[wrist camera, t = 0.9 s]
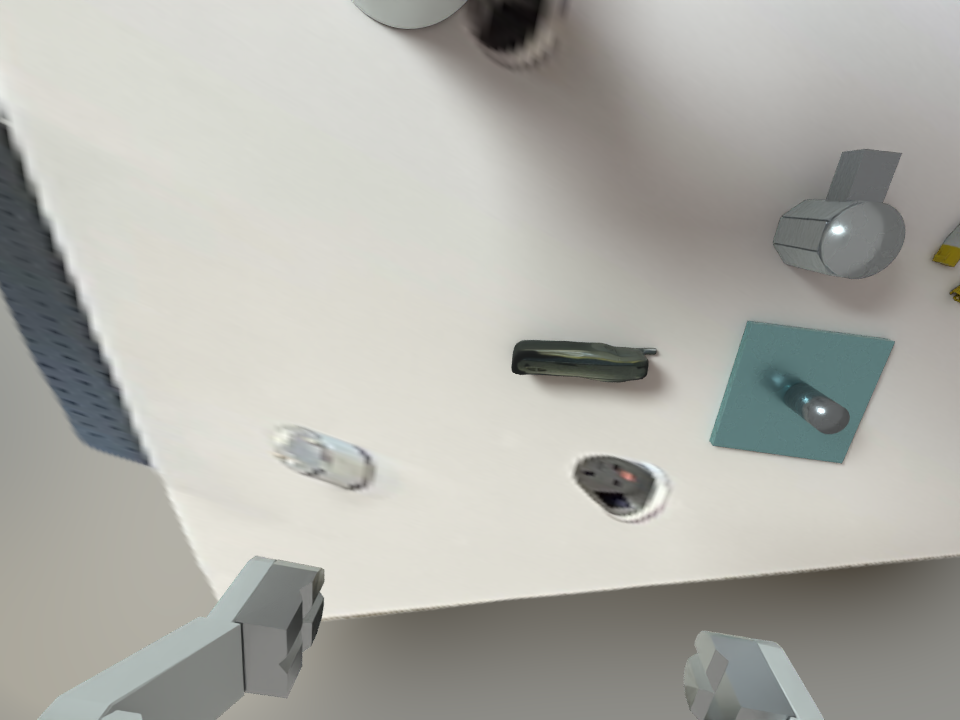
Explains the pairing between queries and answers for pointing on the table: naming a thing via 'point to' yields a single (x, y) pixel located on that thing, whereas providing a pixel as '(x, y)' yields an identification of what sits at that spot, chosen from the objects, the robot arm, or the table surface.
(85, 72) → the table surface
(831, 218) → the tabbed metal cylinder
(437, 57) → the table surface
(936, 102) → the table surface
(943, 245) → the yellow thin looped cord
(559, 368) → the mobile phone
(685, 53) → the table surface
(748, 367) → the flat teal square plate
